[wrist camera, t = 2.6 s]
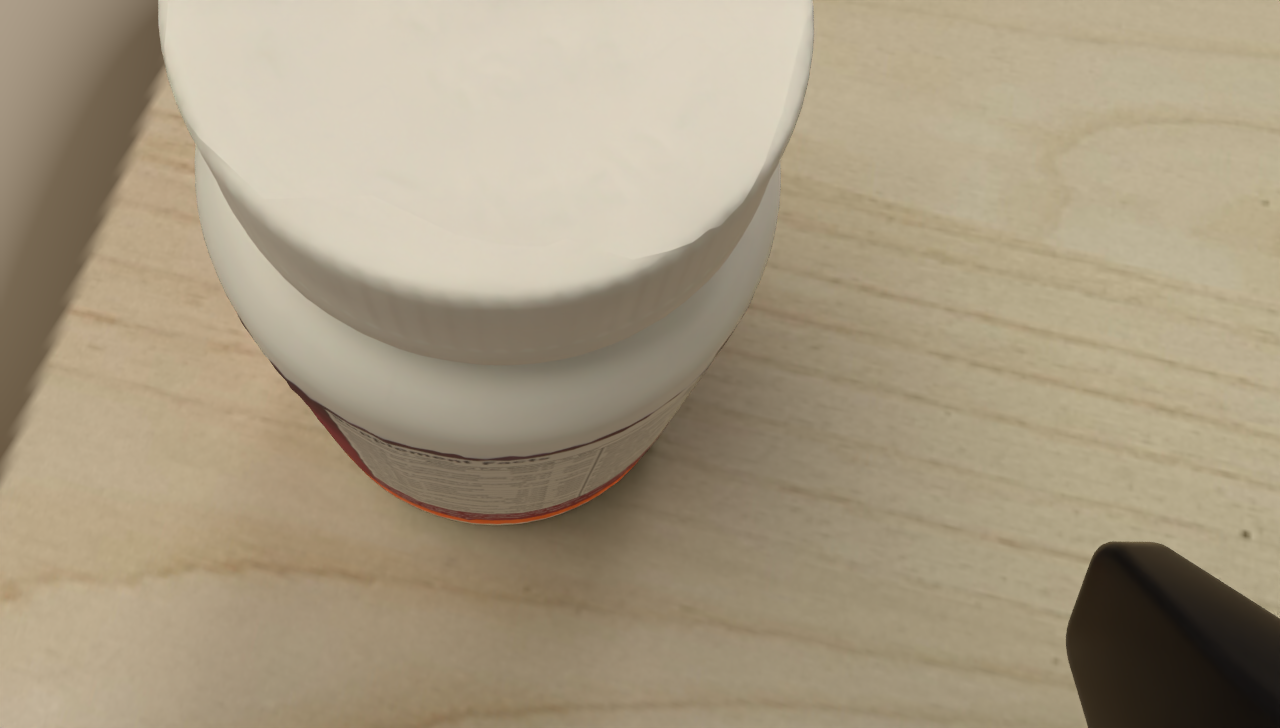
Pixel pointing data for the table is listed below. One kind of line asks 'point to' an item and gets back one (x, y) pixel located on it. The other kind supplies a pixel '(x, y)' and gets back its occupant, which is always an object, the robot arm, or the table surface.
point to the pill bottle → (489, 219)
